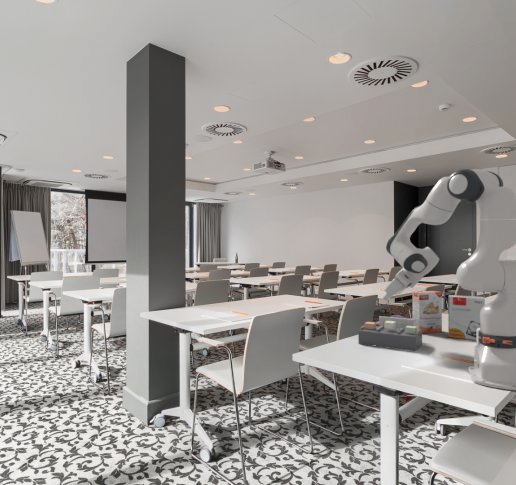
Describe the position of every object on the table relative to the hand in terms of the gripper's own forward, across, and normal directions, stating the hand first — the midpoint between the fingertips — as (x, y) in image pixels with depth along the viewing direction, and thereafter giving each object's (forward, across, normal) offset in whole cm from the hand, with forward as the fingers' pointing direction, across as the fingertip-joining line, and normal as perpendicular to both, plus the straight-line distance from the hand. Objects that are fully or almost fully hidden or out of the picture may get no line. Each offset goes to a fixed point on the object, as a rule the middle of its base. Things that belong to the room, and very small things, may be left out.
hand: (384, 299), depth 174 cm
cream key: (+8, -1, +10) cm, 13 cm away
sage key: (+2, -1, +18) cm, 18 cm away
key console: (+13, -4, +15) cm, 21 cm away
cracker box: (+5, -37, +22) cm, 44 cm away
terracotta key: (+15, -1, +5) cm, 16 cm away
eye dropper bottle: (-12, -17, +41) cm, 46 cm away
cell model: (+14, -24, +14) cm, 31 cm away
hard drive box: (-7, -33, +35) cm, 49 cm away
